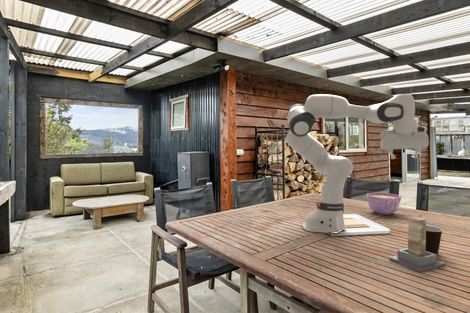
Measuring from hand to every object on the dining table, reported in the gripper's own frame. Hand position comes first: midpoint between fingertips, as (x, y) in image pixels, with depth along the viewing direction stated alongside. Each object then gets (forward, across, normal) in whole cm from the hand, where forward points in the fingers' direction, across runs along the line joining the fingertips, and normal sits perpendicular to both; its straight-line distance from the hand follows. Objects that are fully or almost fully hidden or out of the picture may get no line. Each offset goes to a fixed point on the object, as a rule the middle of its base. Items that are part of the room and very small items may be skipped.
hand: (403, 158), depth 133 cm
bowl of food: (+41, +9, +48) cm, 64 cm away
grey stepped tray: (+36, -9, -31) cm, 49 cm away
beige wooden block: (+36, -9, -31) cm, 48 cm away
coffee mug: (+38, +2, -18) cm, 42 cm away
